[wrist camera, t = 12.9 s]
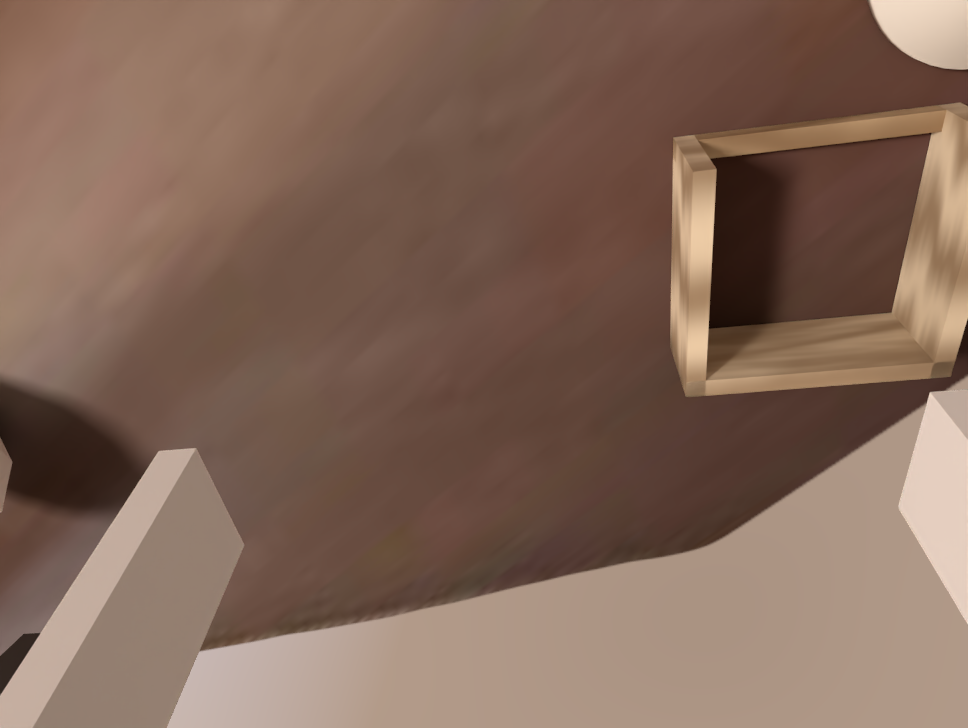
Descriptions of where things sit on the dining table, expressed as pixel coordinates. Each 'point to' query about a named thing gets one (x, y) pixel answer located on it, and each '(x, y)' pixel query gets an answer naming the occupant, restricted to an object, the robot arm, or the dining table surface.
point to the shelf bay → (831, 341)
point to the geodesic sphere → (4, 472)
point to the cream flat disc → (926, 29)
